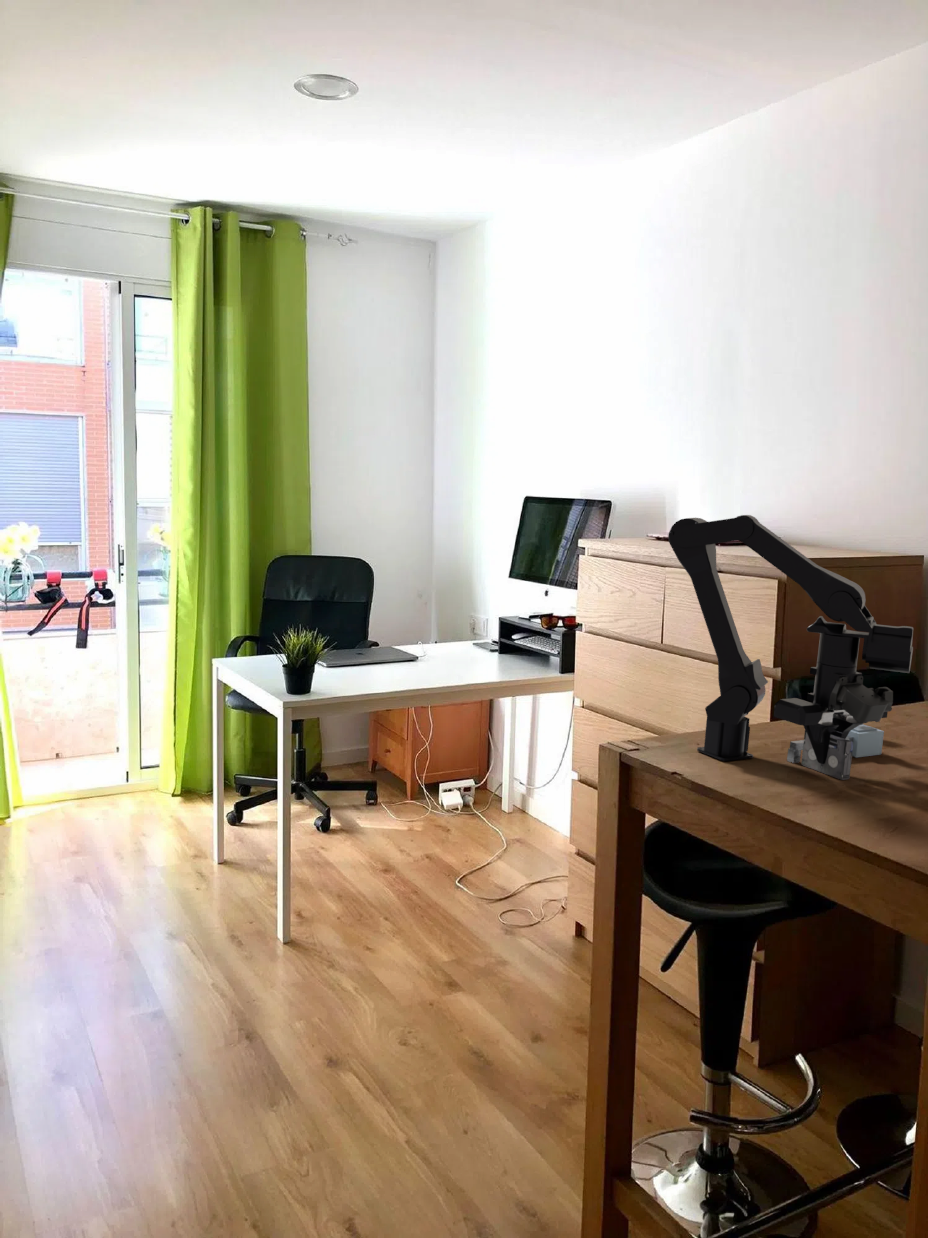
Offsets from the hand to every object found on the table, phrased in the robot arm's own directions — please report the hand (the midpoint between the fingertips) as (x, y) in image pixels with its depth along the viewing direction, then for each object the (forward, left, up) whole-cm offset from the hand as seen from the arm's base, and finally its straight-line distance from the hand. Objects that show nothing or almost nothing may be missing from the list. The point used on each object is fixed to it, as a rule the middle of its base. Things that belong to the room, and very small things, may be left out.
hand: (825, 762), depth 154 cm
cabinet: (+15, +8, -2) cm, 17 cm away
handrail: (+6, +6, -2) cm, 8 cm away
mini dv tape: (0, 0, -2) cm, 2 cm away
